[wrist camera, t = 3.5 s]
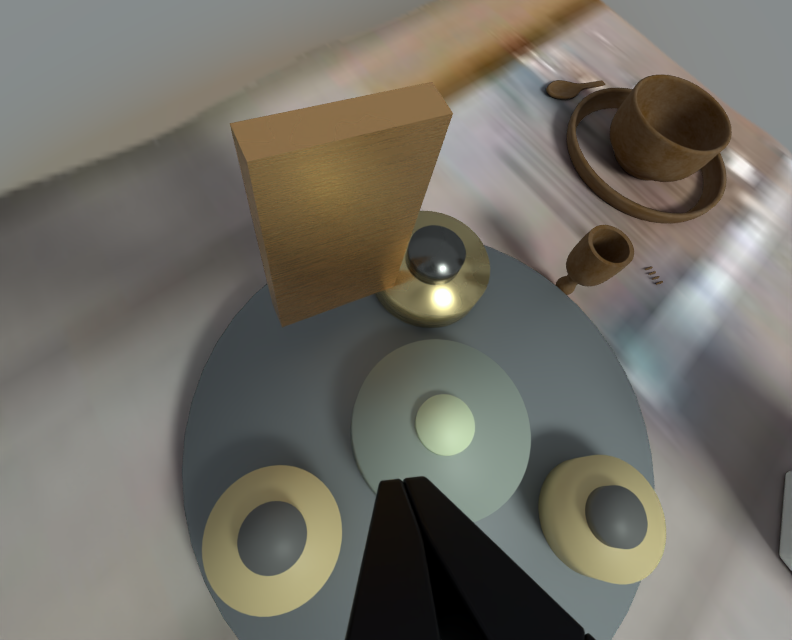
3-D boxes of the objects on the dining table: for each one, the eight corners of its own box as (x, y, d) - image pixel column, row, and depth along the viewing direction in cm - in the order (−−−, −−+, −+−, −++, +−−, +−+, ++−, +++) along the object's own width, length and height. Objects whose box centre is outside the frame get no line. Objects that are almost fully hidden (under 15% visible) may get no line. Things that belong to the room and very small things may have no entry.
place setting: (764, 239, 31) (856, 185, 26) (550, 334, 25) (612, 288, 20) (625, 73, 36) (678, -1, 31) (419, 119, 30) (441, 36, 25)
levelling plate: (463, 886, 15) (500, 985, 12) (80, 441, 18) (31, 429, 15) (703, 427, 24) (761, 416, 21) (411, 182, 27) (423, 140, 24)
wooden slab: (446, 216, 25) (542, 1, 14) (499, 304, 23) (653, 134, 12) (258, 277, 21) (198, 54, 11) (303, 385, 19) (285, 247, 9)
